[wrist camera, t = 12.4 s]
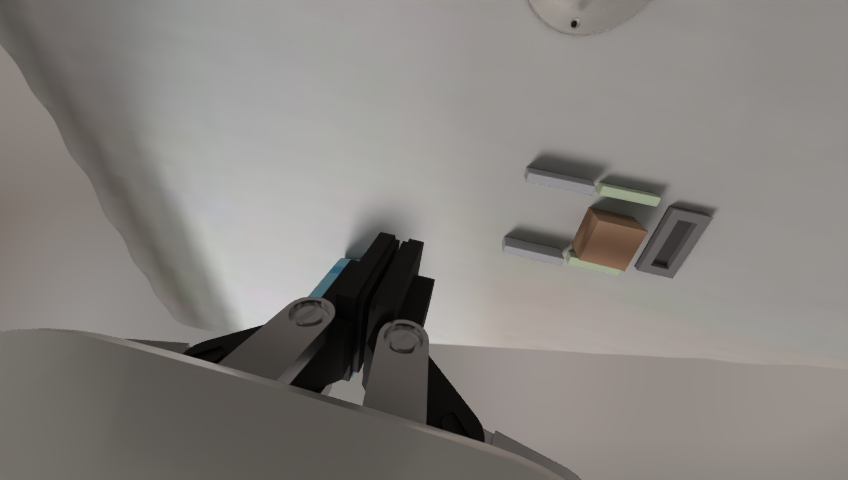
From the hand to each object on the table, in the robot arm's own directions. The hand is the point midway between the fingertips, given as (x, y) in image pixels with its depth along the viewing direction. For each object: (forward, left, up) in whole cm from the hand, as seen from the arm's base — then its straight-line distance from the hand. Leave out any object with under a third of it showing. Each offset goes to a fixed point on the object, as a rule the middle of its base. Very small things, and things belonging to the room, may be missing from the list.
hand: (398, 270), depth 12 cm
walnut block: (+7, +19, -27) cm, 34 cm away
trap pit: (+6, +26, -27) cm, 38 cm away
